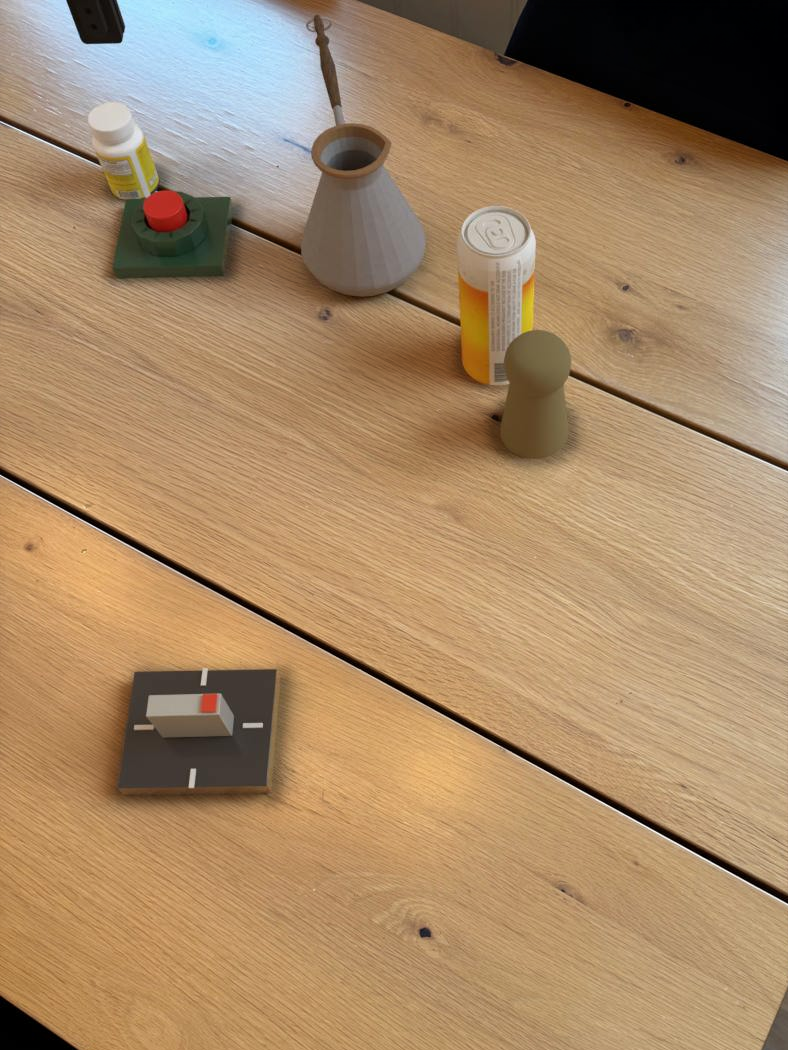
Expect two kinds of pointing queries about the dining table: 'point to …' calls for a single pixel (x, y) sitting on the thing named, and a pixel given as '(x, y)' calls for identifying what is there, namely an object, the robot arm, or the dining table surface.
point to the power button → (165, 211)
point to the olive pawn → (536, 395)
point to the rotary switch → (203, 759)
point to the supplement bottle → (122, 152)
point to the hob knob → (190, 715)
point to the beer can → (494, 288)
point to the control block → (175, 241)
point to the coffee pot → (357, 205)
